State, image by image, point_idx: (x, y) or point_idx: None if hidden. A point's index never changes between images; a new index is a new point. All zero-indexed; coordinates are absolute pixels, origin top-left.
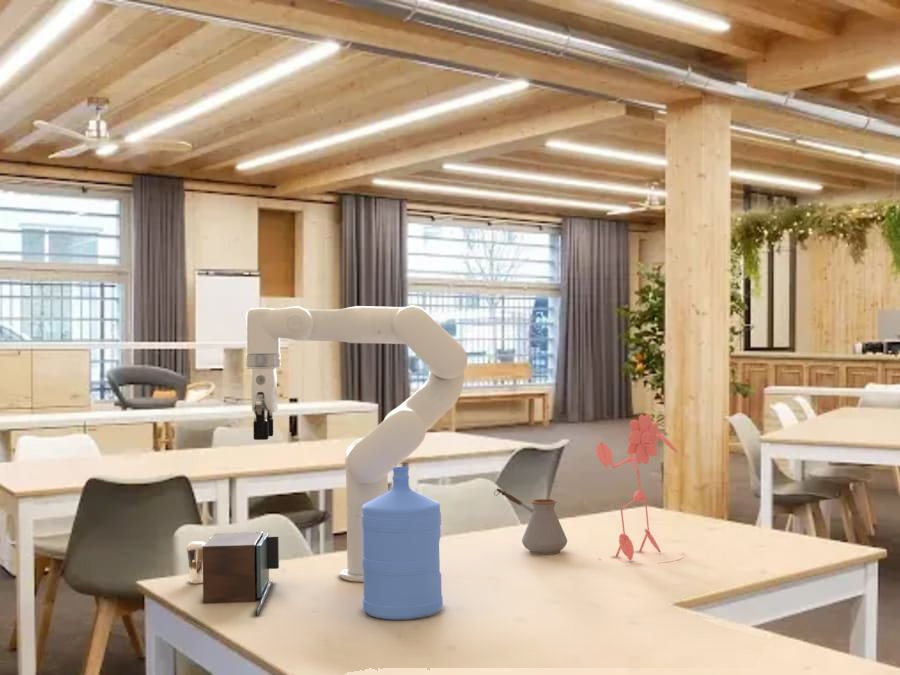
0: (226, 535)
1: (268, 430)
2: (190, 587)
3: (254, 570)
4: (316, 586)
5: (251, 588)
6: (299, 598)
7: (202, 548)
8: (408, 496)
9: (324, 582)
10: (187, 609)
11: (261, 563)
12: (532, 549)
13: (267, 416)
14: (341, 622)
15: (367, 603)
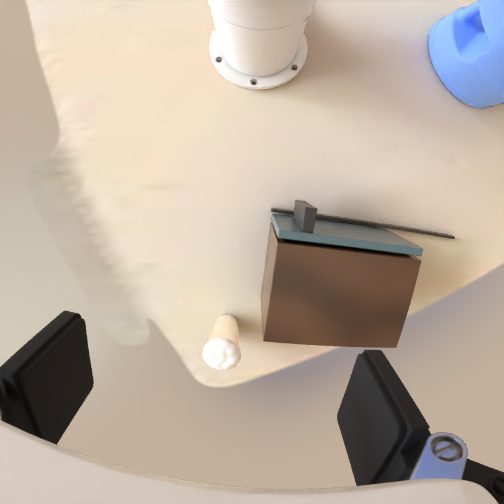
0: (299, 318)
1: (71, 357)
2: (260, 332)
3: None
4: (312, 135)
5: None
6: (384, 171)
7: (236, 345)
8: None
9: (285, 119)
10: None
11: (395, 238)
12: None
13: (14, 425)
14: (494, 142)
15: (491, 106)
